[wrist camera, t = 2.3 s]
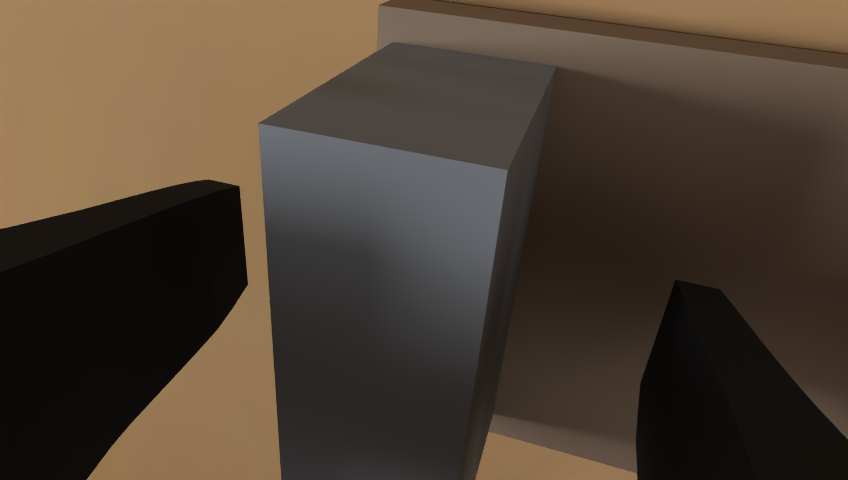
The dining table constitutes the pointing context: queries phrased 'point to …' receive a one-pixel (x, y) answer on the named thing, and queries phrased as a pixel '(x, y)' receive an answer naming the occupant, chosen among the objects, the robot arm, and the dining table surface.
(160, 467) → the dining table surface
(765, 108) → the brown and grey piece
